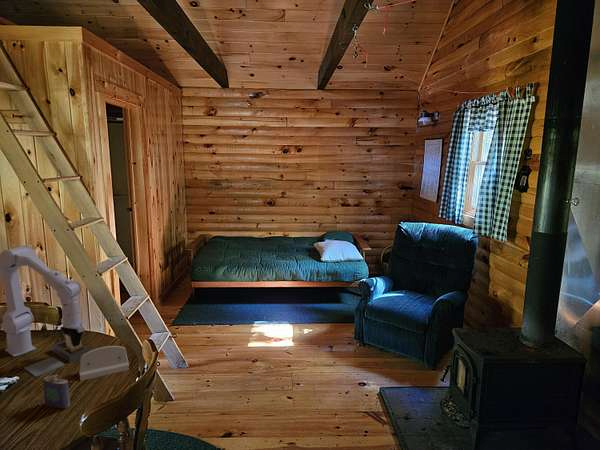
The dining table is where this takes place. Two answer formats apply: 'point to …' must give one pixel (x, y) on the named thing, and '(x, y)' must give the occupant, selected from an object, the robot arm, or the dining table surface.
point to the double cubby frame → (62, 352)
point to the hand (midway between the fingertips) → (73, 344)
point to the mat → (44, 366)
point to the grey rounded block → (103, 362)
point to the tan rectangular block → (71, 345)
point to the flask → (56, 392)
